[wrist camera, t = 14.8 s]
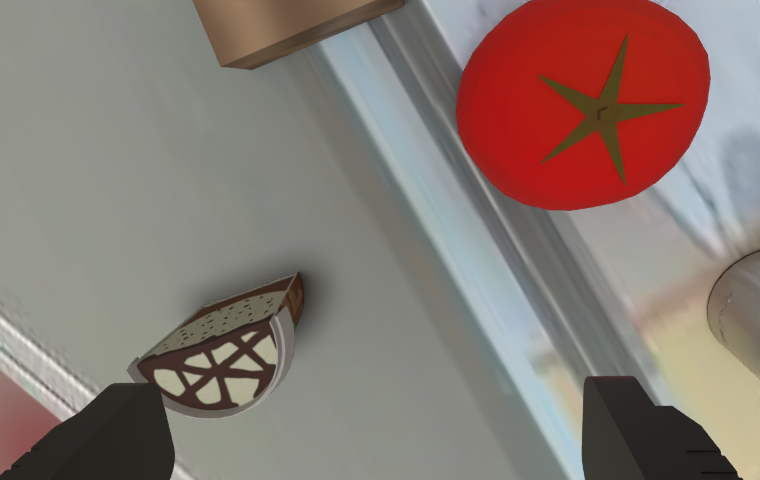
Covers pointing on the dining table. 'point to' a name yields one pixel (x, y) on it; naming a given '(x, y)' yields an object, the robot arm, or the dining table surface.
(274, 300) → the food container
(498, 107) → the tomato
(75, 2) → the dining table surface
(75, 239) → the dining table surface
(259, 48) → the walnut block
